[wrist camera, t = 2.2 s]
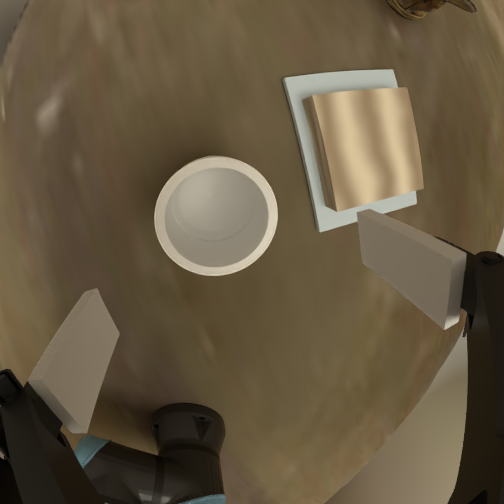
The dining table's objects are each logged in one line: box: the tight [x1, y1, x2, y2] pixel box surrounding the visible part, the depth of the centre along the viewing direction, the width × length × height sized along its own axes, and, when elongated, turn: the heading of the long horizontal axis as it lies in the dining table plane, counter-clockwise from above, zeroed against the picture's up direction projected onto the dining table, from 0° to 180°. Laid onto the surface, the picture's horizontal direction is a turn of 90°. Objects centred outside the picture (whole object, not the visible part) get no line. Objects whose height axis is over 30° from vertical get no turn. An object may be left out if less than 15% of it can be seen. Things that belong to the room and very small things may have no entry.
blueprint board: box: [282, 70, 417, 232], centre depth 38 cm, size 18×22×1 cm
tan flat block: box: [302, 88, 424, 212], centre depth 36 cm, size 15×15×4 cm
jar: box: [154, 156, 278, 276], centre depth 31 cm, size 11×10×15 cm
